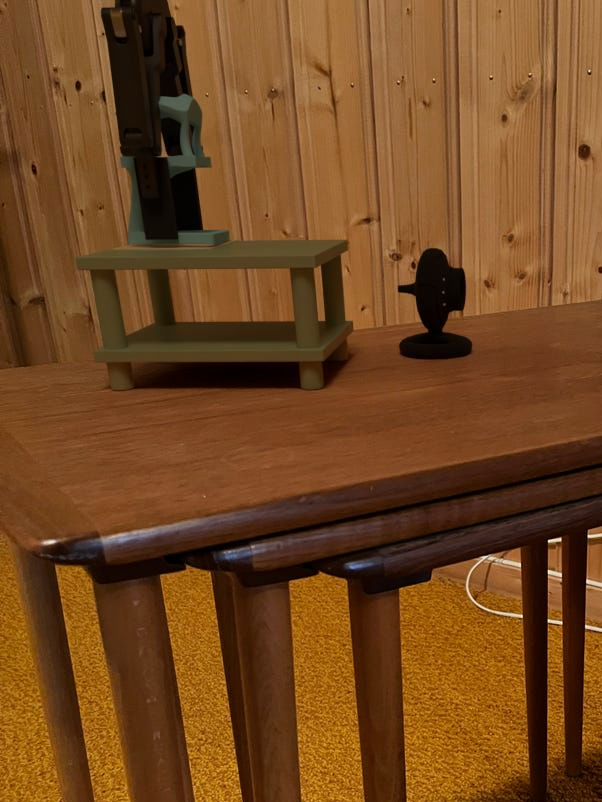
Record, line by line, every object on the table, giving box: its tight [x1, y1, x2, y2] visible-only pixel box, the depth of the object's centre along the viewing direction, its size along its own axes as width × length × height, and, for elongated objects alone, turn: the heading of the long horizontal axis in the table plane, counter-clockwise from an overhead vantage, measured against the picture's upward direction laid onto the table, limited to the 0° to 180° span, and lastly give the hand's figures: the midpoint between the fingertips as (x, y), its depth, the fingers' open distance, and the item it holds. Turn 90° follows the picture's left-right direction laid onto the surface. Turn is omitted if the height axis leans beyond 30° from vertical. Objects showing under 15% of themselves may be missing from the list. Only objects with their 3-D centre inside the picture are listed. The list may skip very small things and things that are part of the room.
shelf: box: [74, 239, 355, 391], centre depth 89 cm, size 20×16×11 cm
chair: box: [114, 94, 231, 245], centre depth 87 cm, size 8×8×12 cm
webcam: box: [397, 247, 473, 360], centre depth 98 cm, size 8×8×10 cm
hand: (175, 235), depth 89 cm, fingers closed on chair, 7 cm apart
